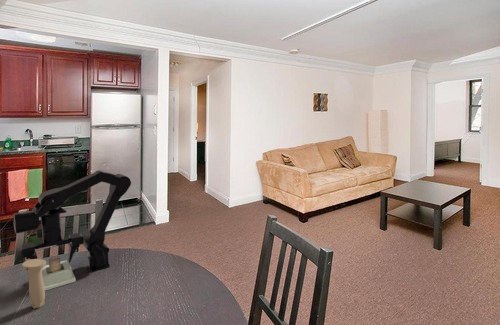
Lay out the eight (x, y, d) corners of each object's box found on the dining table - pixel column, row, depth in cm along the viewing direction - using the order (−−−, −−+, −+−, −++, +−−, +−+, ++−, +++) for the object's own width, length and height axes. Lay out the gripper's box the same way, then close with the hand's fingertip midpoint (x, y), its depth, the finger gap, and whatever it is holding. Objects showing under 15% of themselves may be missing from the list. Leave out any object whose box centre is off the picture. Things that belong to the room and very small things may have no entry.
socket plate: (70, 268, 114) (69, 258, 114) (75, 281, 106) (74, 270, 106) (36, 278, 107) (35, 266, 107) (39, 292, 99) (37, 280, 98)
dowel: (62, 279, 107) (60, 260, 106) (51, 283, 105) (49, 262, 103) (60, 275, 109) (59, 256, 108) (50, 278, 107) (48, 259, 106)
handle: (36, 299, 95) (32, 257, 93) (53, 302, 94) (49, 260, 92) (22, 309, 91) (18, 265, 88) (40, 312, 90) (35, 268, 87)
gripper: (76, 214, 115) (79, 250, 118) (17, 224, 103) (21, 264, 106) (82, 223, 107) (85, 261, 110) (18, 235, 95) (23, 278, 98)
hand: (54, 266), depth 106 cm, fingers open, 9 cm apart
